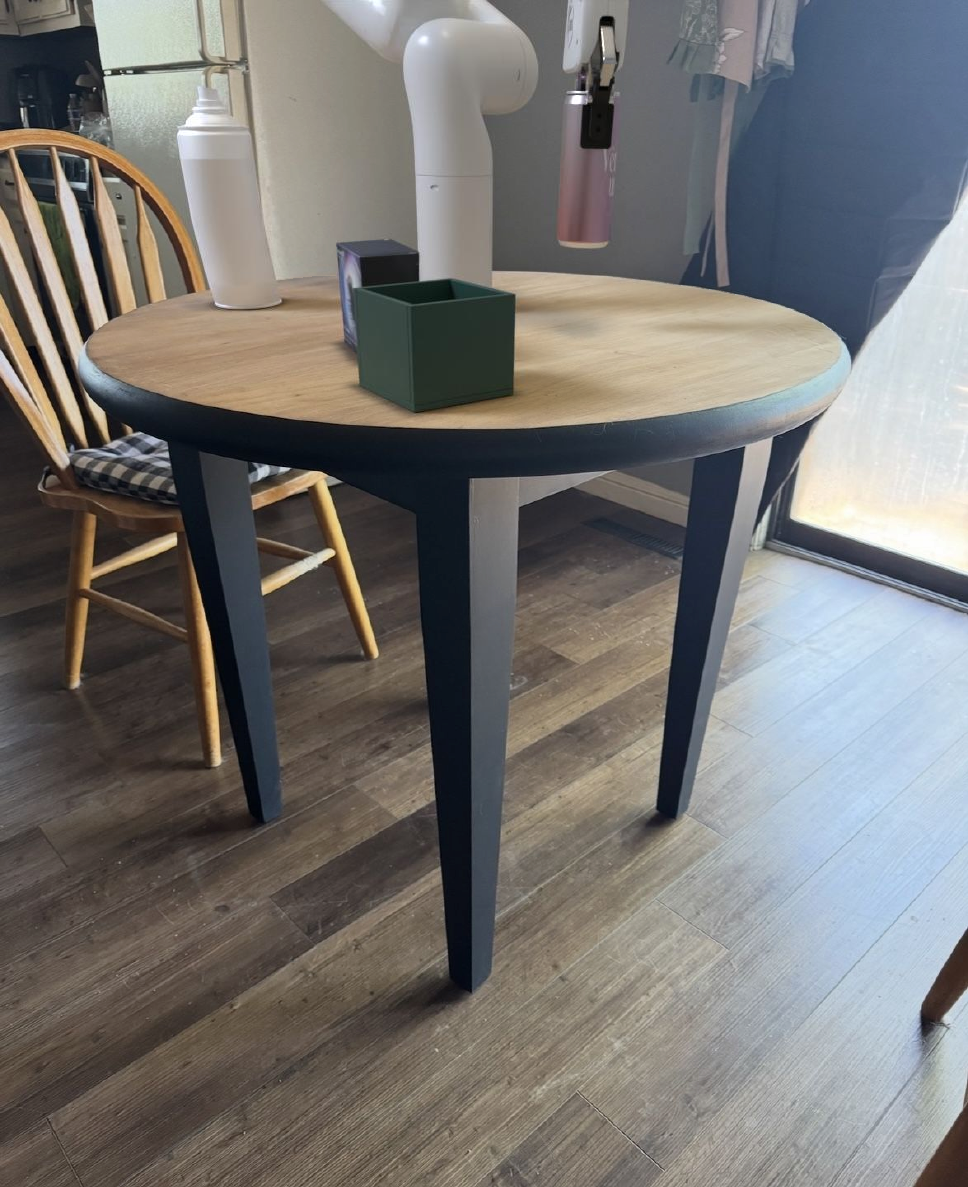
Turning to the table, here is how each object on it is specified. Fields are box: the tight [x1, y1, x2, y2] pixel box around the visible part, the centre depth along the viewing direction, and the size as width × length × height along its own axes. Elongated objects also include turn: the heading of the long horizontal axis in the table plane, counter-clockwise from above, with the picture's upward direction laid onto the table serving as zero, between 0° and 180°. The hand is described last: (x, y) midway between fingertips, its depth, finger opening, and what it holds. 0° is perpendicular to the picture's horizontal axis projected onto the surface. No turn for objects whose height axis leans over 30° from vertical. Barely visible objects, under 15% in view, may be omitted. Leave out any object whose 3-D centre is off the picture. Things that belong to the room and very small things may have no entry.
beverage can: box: [556, 90, 622, 249], centre depth 95 cm, size 6×6×15 cm
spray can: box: [176, 84, 283, 310], centre depth 109 cm, size 12×11×25 cm
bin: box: [353, 278, 516, 413], centre depth 77 cm, size 10×10×9 cm
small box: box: [335, 238, 420, 355], centre depth 90 cm, size 11×6×10 cm, turn 21°
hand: (589, 145), depth 93 cm, fingers closed on beverage can, 6 cm apart
